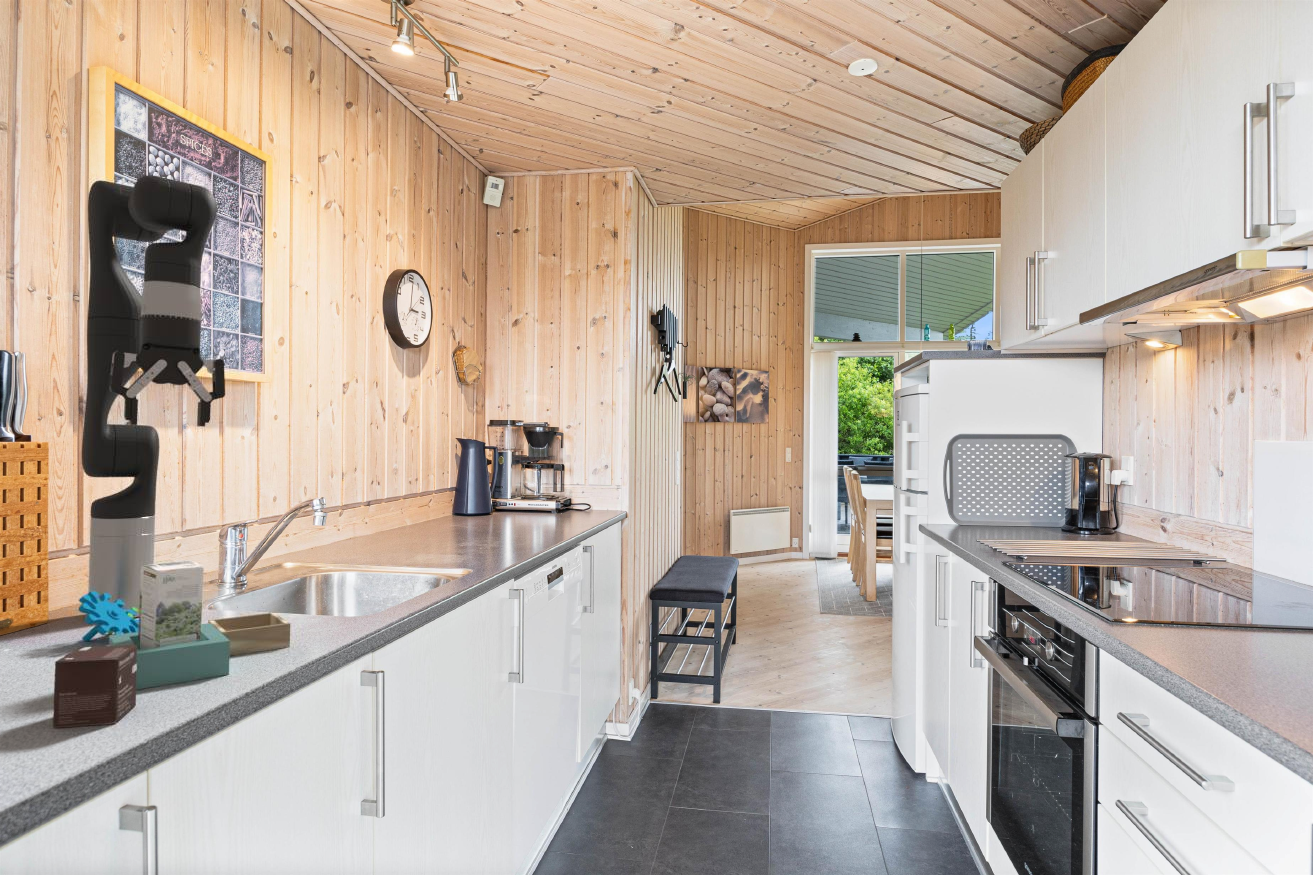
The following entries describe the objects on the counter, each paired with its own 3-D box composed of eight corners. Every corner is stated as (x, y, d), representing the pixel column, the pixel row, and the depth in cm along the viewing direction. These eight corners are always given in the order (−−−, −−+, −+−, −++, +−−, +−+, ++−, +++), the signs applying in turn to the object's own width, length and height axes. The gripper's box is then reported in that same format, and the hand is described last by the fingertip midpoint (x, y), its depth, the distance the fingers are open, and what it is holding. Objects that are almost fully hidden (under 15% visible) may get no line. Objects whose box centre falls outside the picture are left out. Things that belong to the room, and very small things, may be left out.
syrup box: (183, 662, 105) (186, 558, 105) (201, 671, 102) (204, 563, 102) (136, 671, 101) (139, 563, 101) (153, 681, 97) (156, 568, 97)
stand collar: (207, 642, 115) (208, 620, 115) (272, 633, 121) (273, 612, 121) (221, 656, 108) (222, 632, 108) (289, 646, 114) (290, 623, 114)
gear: (114, 639, 110) (72, 589, 111) (82, 668, 109) (39, 618, 110) (161, 631, 121) (122, 585, 122) (132, 657, 120) (93, 611, 121)
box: (115, 725, 83) (117, 658, 83) (50, 729, 81) (53, 661, 81) (137, 706, 88) (138, 643, 88) (76, 710, 87) (78, 646, 87)
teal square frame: (108, 668, 102) (109, 635, 102) (209, 653, 110) (210, 623, 110) (119, 692, 93) (120, 655, 93) (228, 674, 101) (229, 640, 101)
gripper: (220, 324, 119) (216, 426, 119) (109, 312, 109) (105, 423, 109) (231, 320, 113) (227, 427, 113) (115, 307, 104) (111, 424, 104)
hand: (167, 425), depth 111 cm, fingers open, 8 cm apart
